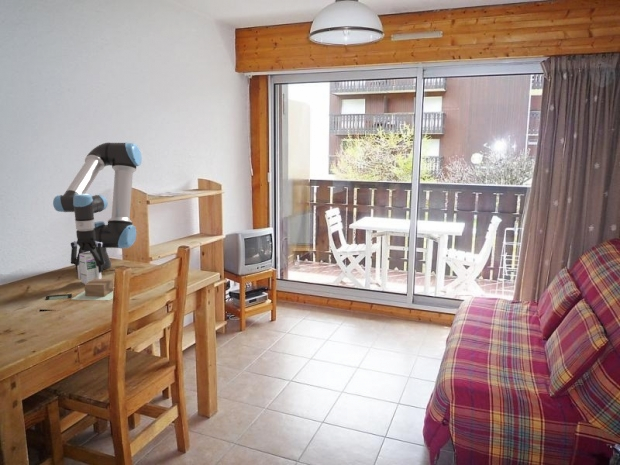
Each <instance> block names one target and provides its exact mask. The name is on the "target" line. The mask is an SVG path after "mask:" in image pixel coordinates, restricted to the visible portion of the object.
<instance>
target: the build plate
mask: <svg viewBox="0 0 620 465" xmlns="http://www.w3.org/2000/svg"><path fill="white" fill-rule="evenodd" d="M112 299H114V298H113V291H112V292H111V293H109V294H108V295H106V296H105V297H94V296H85V290H84V291H82V292H80V293H78V294H77V295H75V296H74V297H71V300H76V301H77V300H81V301H82V300H84V301H111V300H112Z"/></svg>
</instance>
